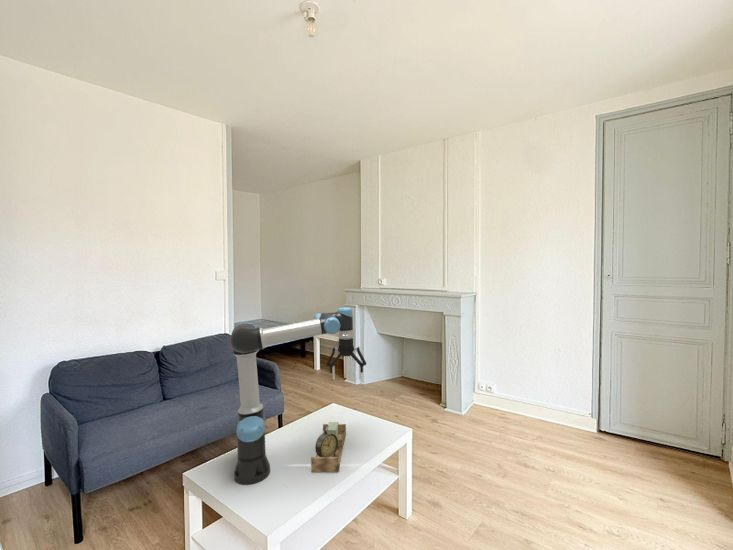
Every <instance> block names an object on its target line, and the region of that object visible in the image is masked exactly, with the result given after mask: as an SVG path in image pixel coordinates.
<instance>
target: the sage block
mask: <svg viewBox="0 0 733 550" xmlns="http://www.w3.org/2000/svg"><path fill="white" fill-rule="evenodd" d="M327 424H328V426H327V428H328V430H327V428H326V430H327V432H329V433H332V434H334V435H336V437H337V439H338V424H339V421H328V423H327Z"/></svg>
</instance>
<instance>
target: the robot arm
mask: <svg viewBox="0 0 733 550" xmlns="http://www.w3.org/2000/svg"><path fill="white" fill-rule="evenodd" d="M353 315H354V314H353V309H352V308H351V307H345V306H344V307H338V308H337V311H336V312H335V311H334V312H320V313H315V314H314V317H313V319H309V320H304V321H299V322H295V323H290V324H289V323H288V324H283V325H279V326H273V327H268V328H262V327H256V326H255V325H253V323H248V322H242V323H239V324H238V325H236V326H235V327H234V328H233V329H232V331H231V334H230V337H229V343H230V347H231V348H232V355H233V356H234V357H236V363H237V364H236V365H237V376H238V388H239V389H238V390H239V399H240V401H239V402H240V406H239V408H238V410H237V418H238V423H237V426H236V431H235V432H236V439H237V441H236V442H237V446H236V447H237V462H236V464H235V469H234V471H233V479H234V481H235V483H237V482H238V484H241V485H253V484H257V483H259V482H261V481H263V480H265V479H266V478H267V477H268V476H269V475H270V474H271V473H270V472H271V464H270V462H269V460H268V456H267V454H266V423H265V422H266V416H265V411H264V405H263V404H262V403H261V401H260V390H259V380H258V379H259V378H258V377H259V376H258V367H257V364H258V363H257V353H258V352H259V351H260V350H264V349H265V348H266V347H268V346H272V345H277V344H283V343H286V342H288V343H289V342H292V341H297V340H301V339H307V338H311V337H312V338H313V337H316V336H321V335H327V334H328V335H335V334H337V333H338V335H337V336H338V347H336V346H333V348H332V352H331V354H330V355H329V359H328V360H327V363H326V366H327V367H329V369H330V371H329V372H330V373H331V374H332V381H335V379H336V374H335V373H336V371H335V370H336V369H335V367H336V366H335V364H336V363H337V362H338V361H339V359H341V357H351V358H353V360H354V361H355V362H356V363H357V364H358V374H359V375H358V376H359V377H358V381H359V380H360V381H361V380H362V373H363V372H364V366H367V361H366V359H365V358H364V355H363V353H362V352H361V347H360V346H356V347H355V346H354V338H353V337H354V324H353V323H354V322H353V321H354V320H353V319H354V316H353ZM337 351H338V353H339V354H337V356H336V357H335V358H334V359H333V357H334V356H335V353H337ZM354 351H355V353H357V354H358V356H357V355H355V353H354ZM358 357H359V358H358Z"/></svg>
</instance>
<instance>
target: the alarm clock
mask: <svg viewBox="0 0 733 550" xmlns="http://www.w3.org/2000/svg"><path fill="white" fill-rule="evenodd" d="M325 424H326V425H327V424H328V423H325ZM324 426H325V425H324ZM327 426H328V425H327ZM327 430H328V428H327ZM327 430H325V431H324V427H323V426H322V432H323V431H324V432H325V433H321V434H319V436H318V438H317V439H316V442H315V447H314V448H315V453H316V454H317V455H318V456H319V457H332V456H333V455H336V454H335V453H336V451H337V448H338V439H337V437H336V435H334V434H332V433H329V432H327Z"/></svg>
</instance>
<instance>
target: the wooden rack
mask: <svg viewBox="0 0 733 550" xmlns="http://www.w3.org/2000/svg"><path fill="white" fill-rule="evenodd" d="M326 424H327V425H328V423H323V424H322V428H323V427H324V431H325V430H326V428H327V425H326ZM324 425H325V426H324ZM346 425H347V424H346V423H338V448H337V451H336V453H335V454H336V455H333V456H332V457H319V456H318V455H317V453H316V455H315V456H311V459H310V465H311V469H310V470H311V473H339V472H340V466H341V459H342V453H343V450H344V444H345V441H346V434H347V429H346V427H347V426H346ZM324 431H323V430H322V432H323V433H325V432H324ZM323 433H322V434H323Z"/></svg>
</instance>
